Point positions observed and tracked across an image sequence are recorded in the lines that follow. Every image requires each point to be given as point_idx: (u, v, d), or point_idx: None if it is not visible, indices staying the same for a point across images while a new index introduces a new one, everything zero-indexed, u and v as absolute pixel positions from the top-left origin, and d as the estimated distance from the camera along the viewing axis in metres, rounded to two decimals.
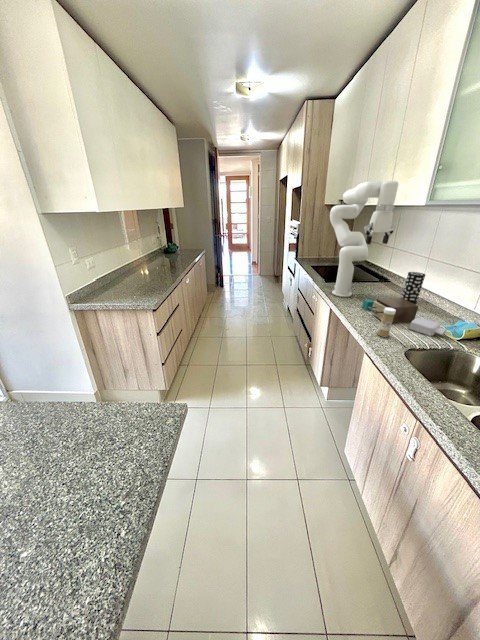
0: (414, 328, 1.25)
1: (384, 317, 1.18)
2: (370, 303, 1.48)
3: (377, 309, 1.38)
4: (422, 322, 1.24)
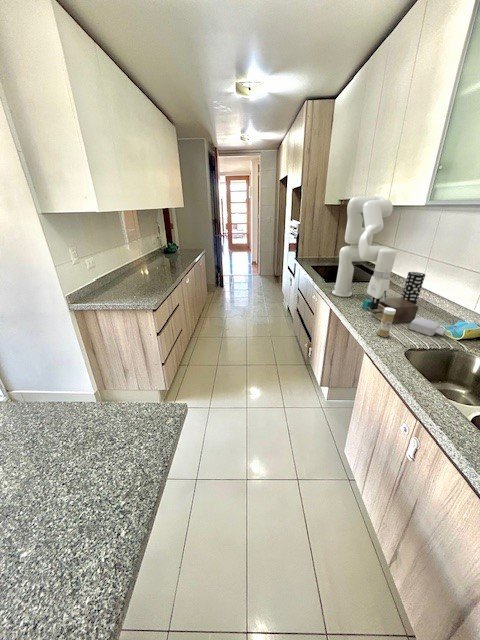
0: (414, 328, 1.25)
1: (384, 317, 1.18)
2: (370, 303, 1.48)
3: (376, 309, 1.38)
4: (422, 322, 1.24)
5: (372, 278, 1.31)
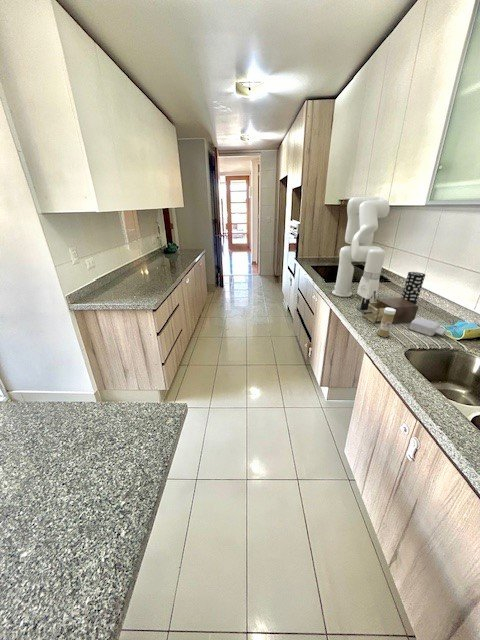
0: (414, 328, 1.25)
1: (384, 317, 1.18)
2: None
3: (366, 310, 1.37)
4: (422, 322, 1.24)
5: (362, 278, 1.30)
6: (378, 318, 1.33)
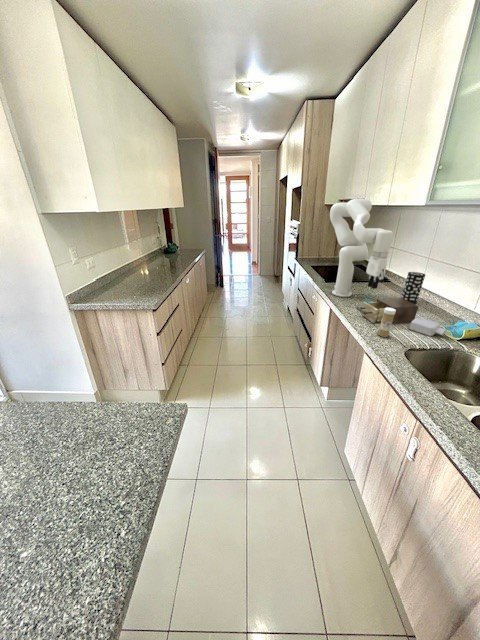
0: (414, 328, 1.25)
1: (384, 317, 1.18)
2: None
3: (366, 310, 1.37)
4: (422, 322, 1.24)
5: (371, 258, 1.42)
6: (378, 318, 1.33)
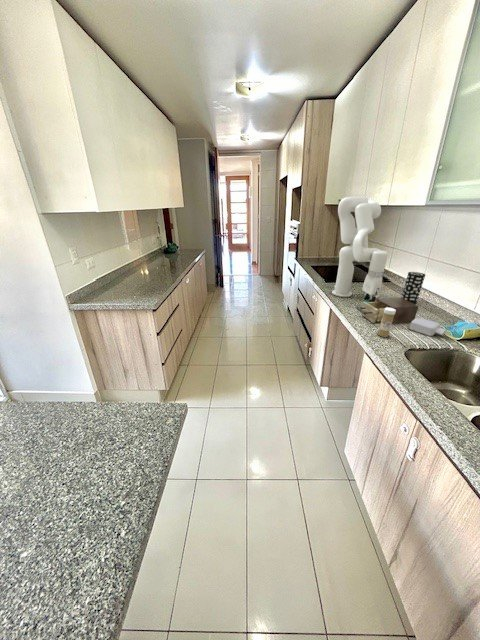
0: (414, 328, 1.25)
1: (384, 317, 1.18)
2: None
3: (366, 310, 1.37)
4: (422, 322, 1.24)
5: (367, 277, 1.46)
6: (378, 318, 1.33)
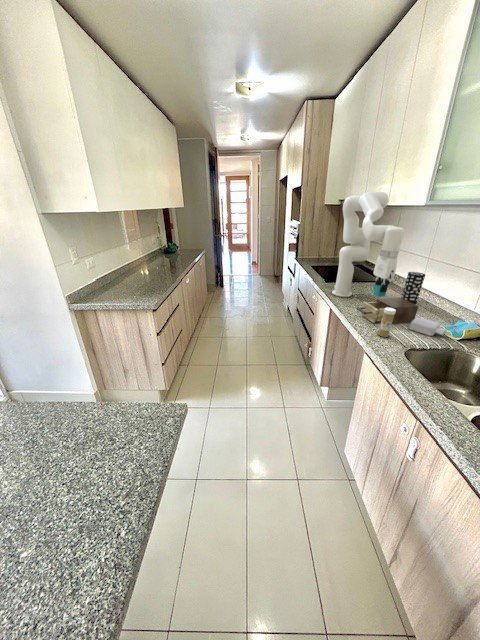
0: (414, 328, 1.25)
1: (384, 317, 1.18)
2: None
3: (366, 310, 1.37)
4: (422, 322, 1.24)
5: (379, 258, 1.28)
6: (378, 318, 1.33)
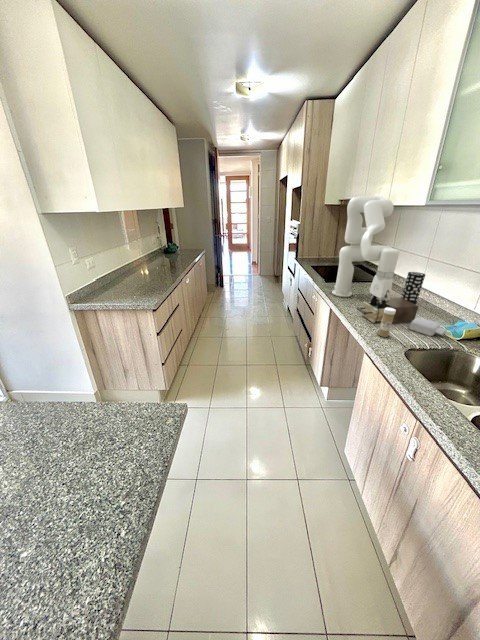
0: (414, 328, 1.25)
1: (384, 317, 1.18)
2: None
3: (366, 310, 1.37)
4: (422, 322, 1.24)
5: (375, 278, 1.31)
6: (378, 318, 1.33)
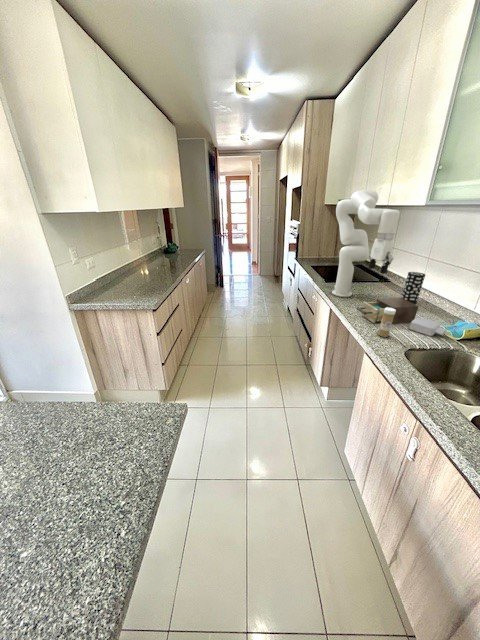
0: (414, 328, 1.25)
1: (384, 317, 1.18)
2: (378, 310, 1.34)
3: (366, 310, 1.37)
4: (422, 322, 1.24)
5: (375, 241, 1.31)
6: (378, 318, 1.33)
